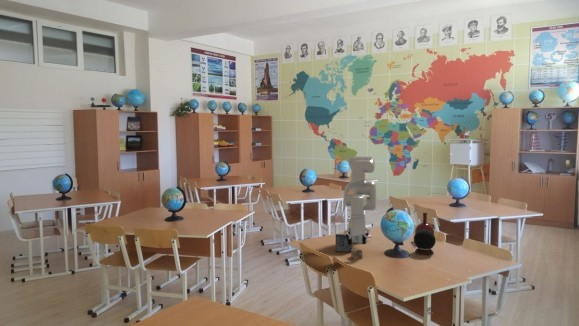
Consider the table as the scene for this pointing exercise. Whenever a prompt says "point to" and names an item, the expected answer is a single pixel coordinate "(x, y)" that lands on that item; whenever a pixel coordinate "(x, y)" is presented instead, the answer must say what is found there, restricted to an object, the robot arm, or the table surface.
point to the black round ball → (424, 242)
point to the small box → (342, 243)
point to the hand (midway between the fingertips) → (356, 244)
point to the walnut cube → (356, 253)
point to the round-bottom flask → (424, 225)
